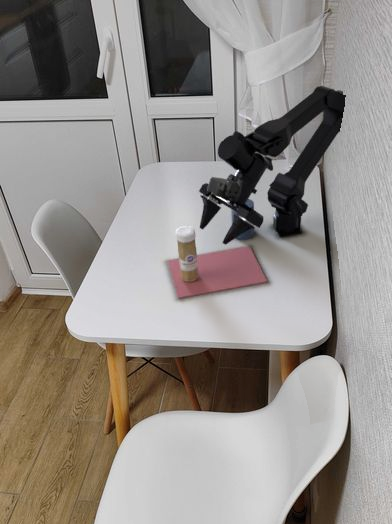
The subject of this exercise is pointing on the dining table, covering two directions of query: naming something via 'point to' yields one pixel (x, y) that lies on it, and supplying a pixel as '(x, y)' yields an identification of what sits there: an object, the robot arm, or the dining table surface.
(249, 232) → the blue canister
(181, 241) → the sprinkles bottle
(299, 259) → the dining table surface
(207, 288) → the rose mat
